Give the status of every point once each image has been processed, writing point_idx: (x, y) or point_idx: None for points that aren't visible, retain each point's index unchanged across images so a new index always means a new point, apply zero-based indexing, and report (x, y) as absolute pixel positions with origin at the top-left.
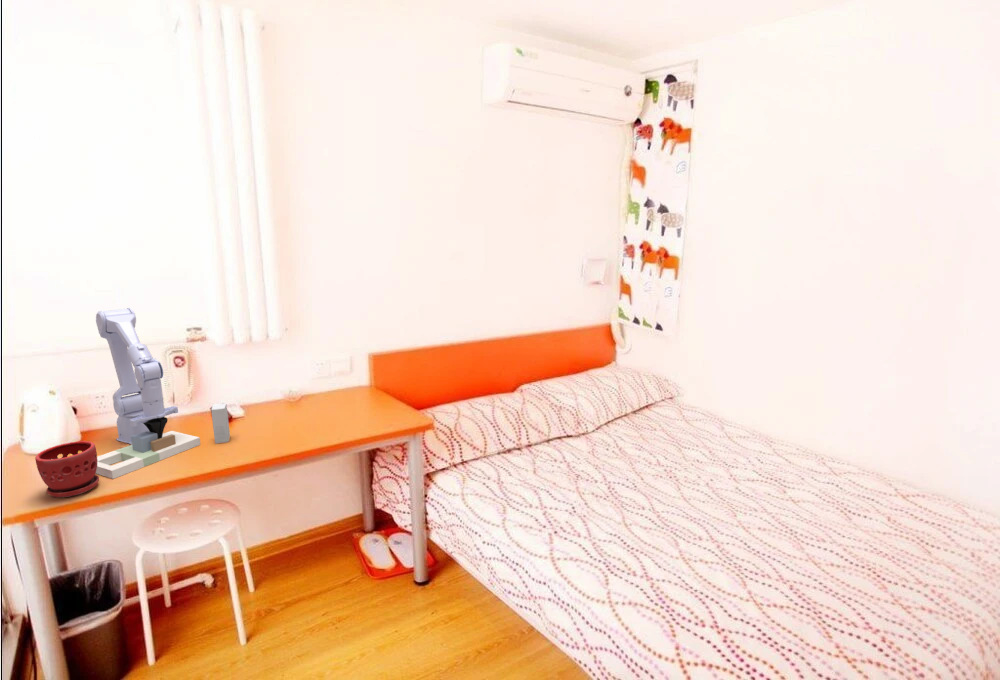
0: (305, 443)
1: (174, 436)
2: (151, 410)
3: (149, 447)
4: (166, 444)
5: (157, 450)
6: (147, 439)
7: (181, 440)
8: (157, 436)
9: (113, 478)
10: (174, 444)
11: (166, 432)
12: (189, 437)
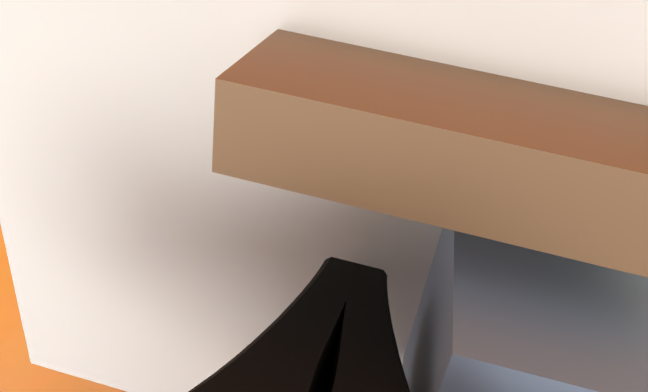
0: None
1: (234, 72)
2: None
3: None
4: (439, 76)
5: (615, 99)
6: None
7: (147, 48)
8: (456, 304)
9: None
10: (305, 29)
11: (84, 377)
12: (18, 23)
